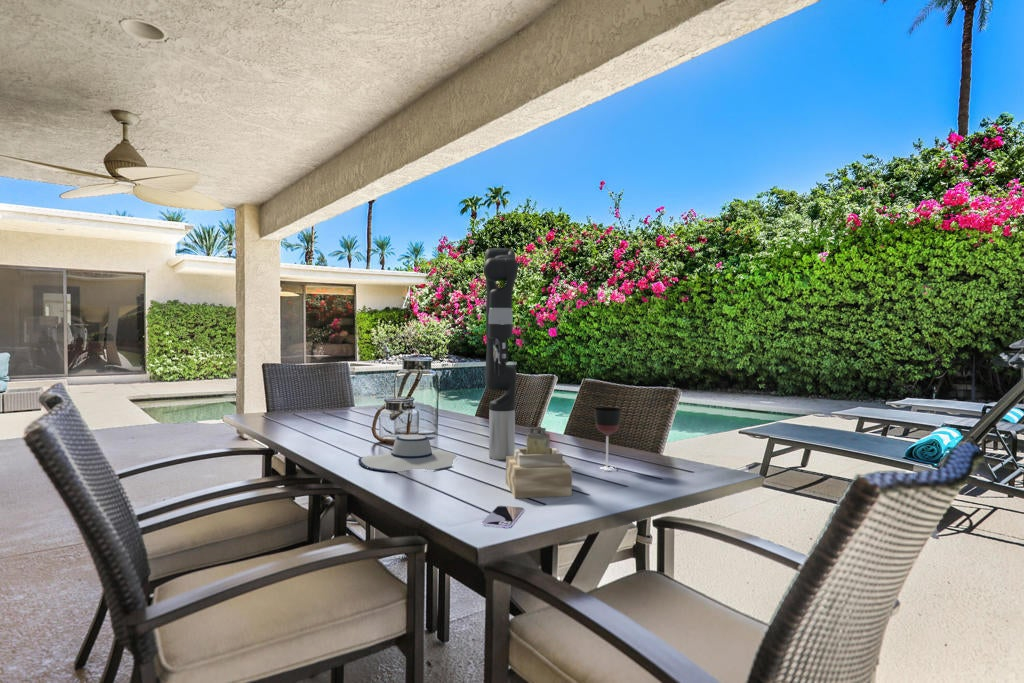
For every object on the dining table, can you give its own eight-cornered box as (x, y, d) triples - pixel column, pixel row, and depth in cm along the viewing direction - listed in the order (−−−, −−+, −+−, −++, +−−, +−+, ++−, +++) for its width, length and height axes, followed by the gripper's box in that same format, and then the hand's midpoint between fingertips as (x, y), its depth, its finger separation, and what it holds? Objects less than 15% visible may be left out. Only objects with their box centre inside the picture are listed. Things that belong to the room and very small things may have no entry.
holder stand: (505, 482, 177) (506, 446, 176) (557, 480, 179) (557, 445, 179) (515, 498, 161) (515, 458, 161) (571, 495, 164) (571, 456, 163)
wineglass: (620, 472, 190) (620, 411, 189) (593, 471, 192) (593, 410, 191) (620, 466, 198) (621, 407, 197) (594, 465, 199) (595, 407, 199)
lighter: (551, 461, 170) (551, 427, 170) (547, 464, 167) (547, 429, 167) (528, 459, 173) (529, 425, 173) (523, 461, 170) (524, 427, 169)
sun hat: (370, 480, 181) (370, 451, 181) (350, 456, 214) (349, 431, 214) (478, 468, 197) (478, 441, 197) (444, 447, 229) (444, 424, 229)
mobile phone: (525, 506, 152) (510, 525, 137) (525, 510, 152) (510, 529, 137) (497, 504, 154) (479, 522, 139) (497, 508, 154) (479, 526, 139)
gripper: (485, 322, 187) (485, 373, 188) (491, 322, 173) (491, 377, 174) (508, 323, 189) (508, 373, 189) (516, 322, 175) (516, 377, 175)
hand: (500, 375), depth 182 cm, fingers open, 8 cm apart
